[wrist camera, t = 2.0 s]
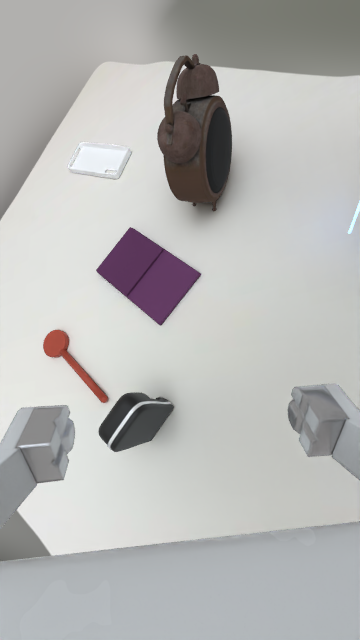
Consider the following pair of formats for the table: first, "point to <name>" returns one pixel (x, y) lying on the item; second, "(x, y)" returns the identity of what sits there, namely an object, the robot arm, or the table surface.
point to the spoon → (69, 359)
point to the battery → (134, 421)
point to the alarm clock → (195, 134)
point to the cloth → (147, 274)
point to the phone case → (100, 159)
